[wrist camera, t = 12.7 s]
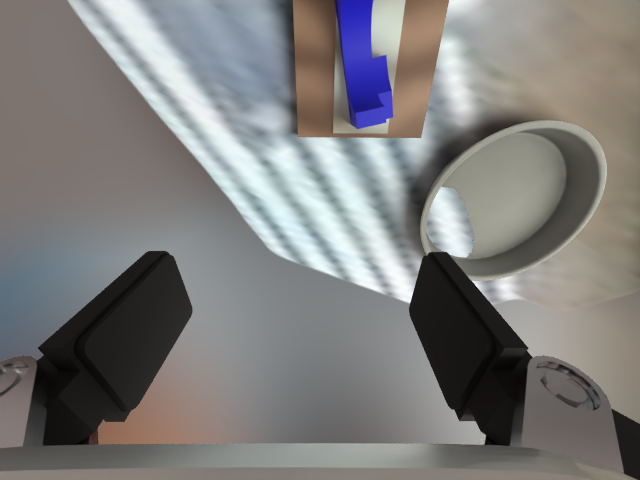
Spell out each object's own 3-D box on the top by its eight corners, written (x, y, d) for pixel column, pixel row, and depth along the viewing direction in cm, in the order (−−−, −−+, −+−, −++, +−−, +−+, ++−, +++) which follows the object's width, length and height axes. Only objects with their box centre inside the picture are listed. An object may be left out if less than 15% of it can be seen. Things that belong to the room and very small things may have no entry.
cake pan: (451, 100, 31) (471, 100, 27) (616, 136, 33) (656, 141, 29) (390, 255, 43) (397, 271, 39) (514, 274, 45) (533, 290, 42)
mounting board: (293, -34, 25) (290, -45, 23) (447, -32, 25) (458, -43, 23) (299, 135, 33) (297, 137, 31) (415, 135, 33) (421, 137, 31)
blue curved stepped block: (386, 116, 30) (401, 119, 24) (350, 124, 30) (357, 129, 25) (378, -18, 24) (395, -51, 18) (333, -5, 24) (338, -34, 19)
